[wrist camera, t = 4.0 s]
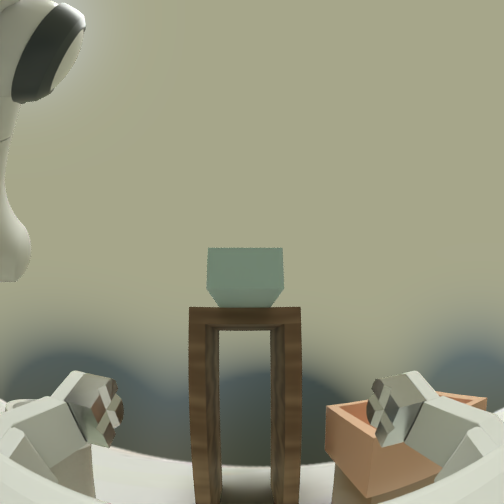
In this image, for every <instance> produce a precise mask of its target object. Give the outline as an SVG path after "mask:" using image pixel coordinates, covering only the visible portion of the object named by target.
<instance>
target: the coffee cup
mask: <svg viewBox="0 0 504 504" xmlns="http://www.w3.org/2000/svg"><path fill="white" fill-rule="evenodd" d="M33 401H35V400H34V399H20V400H13V401H10V402H8V403H7V404H6V408H5V412H6V411H9V410H11V409H14V408H17V407H20V406H22V405H25V404H28V403H30V402H33ZM86 443H87V442H86ZM50 470H51V471H52V473H53V474H54V475H55V476H56V478H57V479H58V484H59V485H62V486H64V487H66V488H69V489H71V490H74V491H76V492H79V493H82V494H84V495H87V496H90V497H93V498H95V499H96V495H95V487H94V479H93V469H92V455H91V443H87V444H86V445H84V446H83V447H81V448H80V449H78V450H77V451H75V452H74V453H73V454H71V455H70V456H68V457H67V458H65V459H64V460H62V461H61V462H59V463H58V464H56V465H54V466H53V467H51V468H50Z"/></svg>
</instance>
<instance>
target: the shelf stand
mask: <svg viewBox="0 0 504 504" xmlns="http://www.w3.org/2000/svg"><path fill="white" fill-rule="evenodd" d="M219 330H226V331H228V330H230V331H231V330H233V331H249V330H250V331H254V330H256V331H257V330H270V347H271V348H270V349H271V484H270V485H271V490H272V495H273V500H274V504H298V502H299V485H300V464H301V432H302V345H301V308H300V307H266V308H219V307H217V308H216V307H189V411H190V412H189V413H190V435H191V453H192V467H193V480H194V491H195V501H196V504H220V498H221V492H222V467H221V440H220V401H219Z"/></svg>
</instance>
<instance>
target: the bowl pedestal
mask: <svg viewBox="0 0 504 504" xmlns="http://www.w3.org/2000/svg"><path fill="white" fill-rule="evenodd" d="M435 392H436V393H437V394H438V395H439V396H440V397H441V396H445V397H448V398H451V399H453V400H456V401H459V402H461V403H464V404H467V405H470V406H472V407H475V408H478V409H481V410H484V411H486V406H487V398H483V397H474V396H466V395H458V394H450V393H444V392H437V391H435ZM367 402H368V400H364V401H358V402H351V403H345V404H338V405H329V406H326V434H325V451H326V452H327V453H328V455H329V456H330V457H331V458H332V459H333V461H334V462H335V473H334V484H333V493H332V502H331V504H378V503H382V502H385V501H388V500H391V499H394V498H397V497H400V496H403V495H405V494H408V493H411V492H413V491H416V490H418V489H421V488H423V487H426V486H428V485H430V484H433V483H435V482H434V479H435V477H436V476H437V474H438V473H439V472H440V471H441V469H442V467H441V466H439V465H438V464H436V463H434V462H433V461H431V460H430V459H428V458H426V457H425V456H423V455H422V454H420V453H419V452H417V451H416V450H414V449H412V448H411V447H409V446H408V445H406V444H405V443H404V442H402V443H398V444H394V445H390V446H386V447H381V445H380V443H379V441H378V439H377V437H376V435H375V432H376V429H377V428H375V427H373V426H372V425H370V423H369V421H368V419H367V415H366V406H367Z"/></svg>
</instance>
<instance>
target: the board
mask: <svg viewBox="0 0 504 504" xmlns="http://www.w3.org/2000/svg"><path fill="white" fill-rule="evenodd" d="M207 261H208V262H207V263H208V264H207V290H208V291H209V293H210V294H211V296H212V297H213V299H214V300H215V302H216V303H217V304H218V306H219V307H220V308H266V307H271V306H272V304H273V303H274V301H275V300H276V299H277V298H278V296H279V295H280V293H281V292H282V291H283V289H284V276H283V275H284V274H283V249H282V248H208V260H207Z"/></svg>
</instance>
